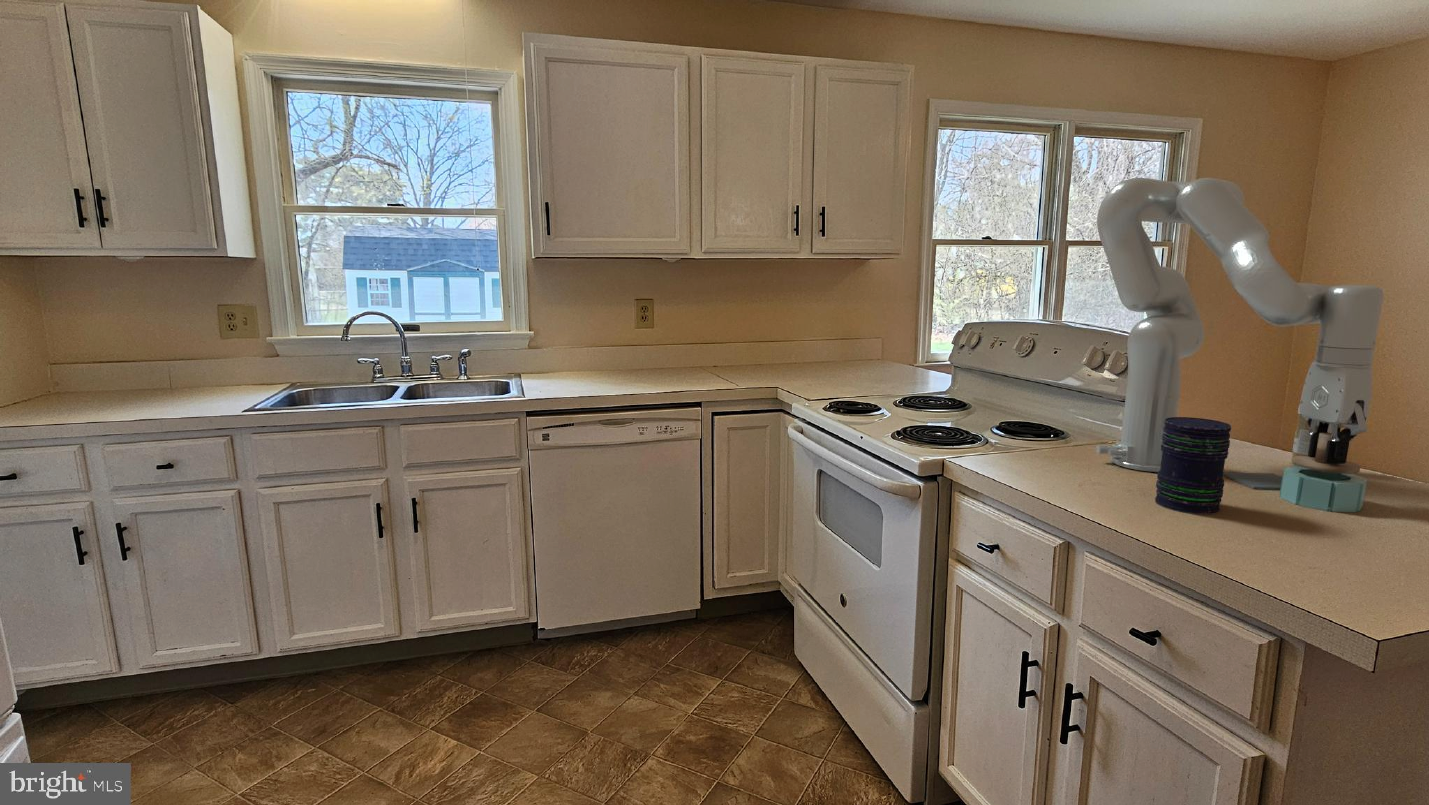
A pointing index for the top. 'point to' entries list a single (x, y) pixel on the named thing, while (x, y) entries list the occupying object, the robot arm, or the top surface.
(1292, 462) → the sprinkles bottle
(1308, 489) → the bowl
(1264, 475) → the mat
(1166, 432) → the storage jar
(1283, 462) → the top surface
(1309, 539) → the top surface
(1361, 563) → the top surface
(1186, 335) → the robot arm
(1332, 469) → the lid
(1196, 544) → the top surface
